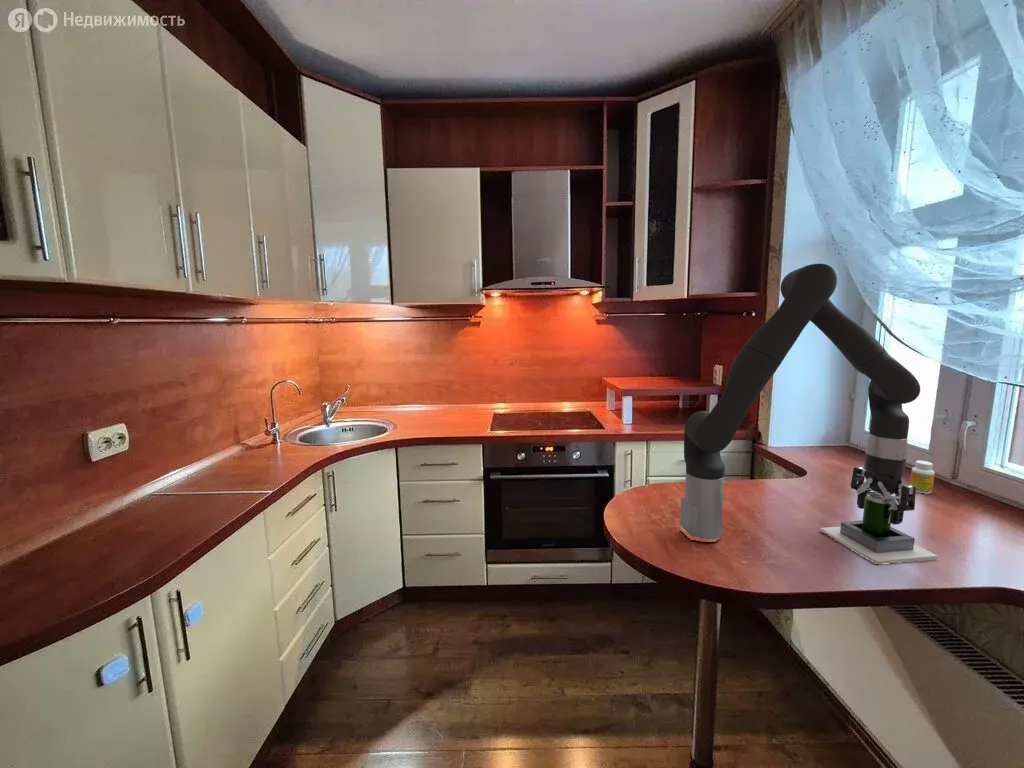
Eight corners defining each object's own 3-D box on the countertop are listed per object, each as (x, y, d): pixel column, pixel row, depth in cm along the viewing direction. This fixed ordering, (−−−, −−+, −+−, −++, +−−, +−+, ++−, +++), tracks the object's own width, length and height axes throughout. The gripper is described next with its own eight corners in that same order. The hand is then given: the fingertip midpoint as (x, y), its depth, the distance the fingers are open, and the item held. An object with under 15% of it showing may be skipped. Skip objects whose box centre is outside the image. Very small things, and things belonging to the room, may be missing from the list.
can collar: (876, 553, 103) (877, 541, 102) (840, 532, 112) (841, 522, 112) (913, 549, 104) (914, 538, 103) (874, 529, 114) (875, 519, 113)
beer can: (862, 542, 107) (867, 497, 106) (858, 533, 112) (863, 489, 110) (890, 548, 105) (896, 501, 103) (885, 538, 109) (890, 493, 107)
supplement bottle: (916, 493, 138) (919, 464, 136) (905, 487, 143) (908, 459, 141) (936, 495, 137) (940, 465, 135) (924, 488, 142) (928, 460, 140)
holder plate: (876, 565, 100) (876, 561, 99) (819, 531, 115) (820, 528, 115) (937, 559, 101) (937, 555, 101) (873, 527, 117) (873, 523, 117)
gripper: (846, 445, 111) (839, 504, 114) (901, 463, 97) (892, 530, 100) (872, 444, 112) (865, 502, 114) (930, 462, 98) (921, 528, 100)
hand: (878, 515), depth 107 cm, fingers open, 8 cm apart
